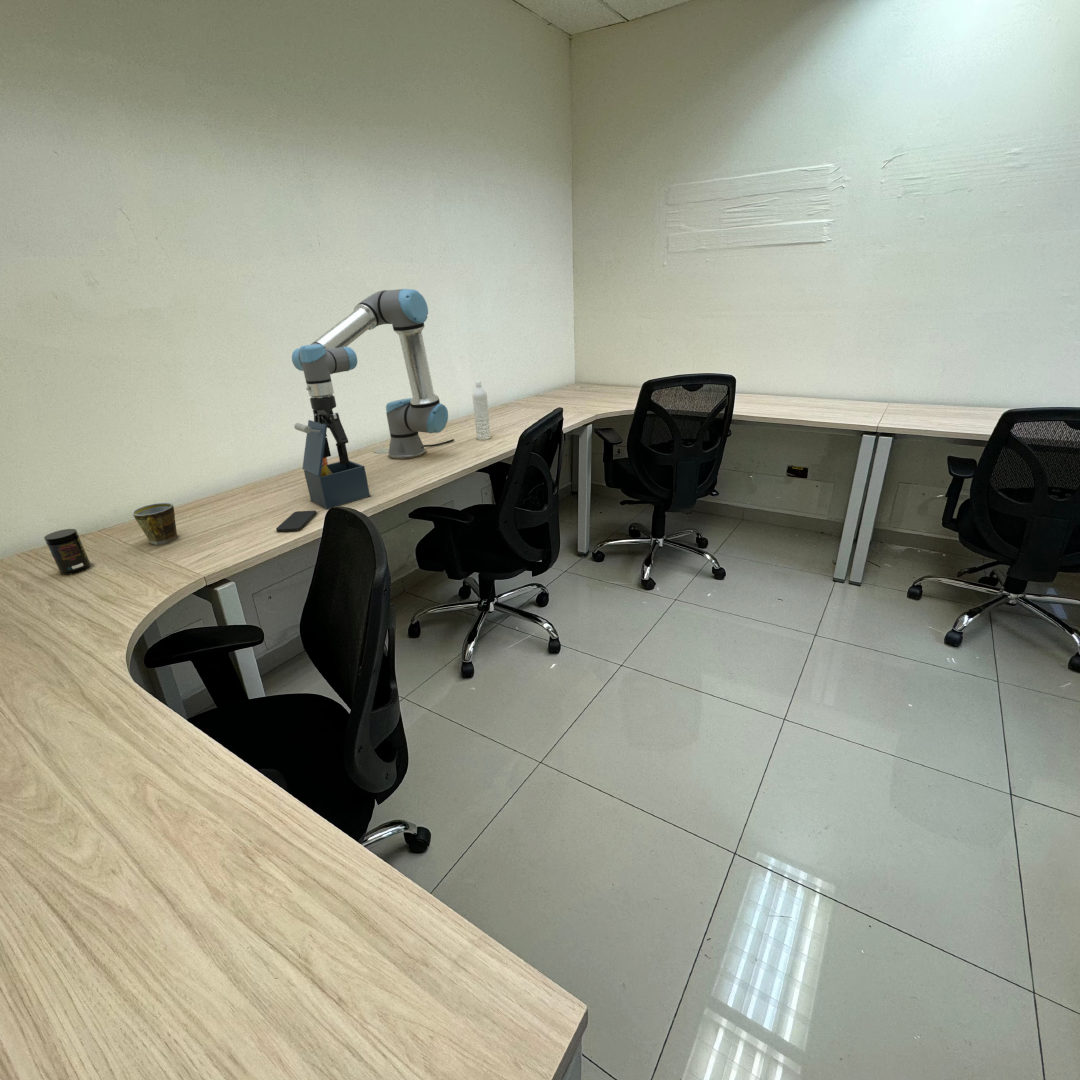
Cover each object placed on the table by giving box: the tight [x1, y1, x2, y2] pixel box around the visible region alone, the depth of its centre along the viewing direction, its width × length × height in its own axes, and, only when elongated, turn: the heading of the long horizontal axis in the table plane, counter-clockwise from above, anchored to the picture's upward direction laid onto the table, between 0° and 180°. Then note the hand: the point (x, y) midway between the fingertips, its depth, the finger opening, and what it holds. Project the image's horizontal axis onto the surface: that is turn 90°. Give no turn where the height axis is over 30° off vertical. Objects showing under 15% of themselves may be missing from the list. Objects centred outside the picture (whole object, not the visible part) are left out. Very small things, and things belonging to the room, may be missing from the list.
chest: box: [303, 460, 371, 510], centre depth 187 cm, size 16×13×11 cm
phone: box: [275, 510, 317, 532], centre depth 171 cm, size 7×1×15 cm
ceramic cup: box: [132, 502, 178, 546], centre depth 160 cm, size 13×10×10 cm
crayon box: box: [321, 465, 333, 477], centre depth 186 cm, size 7×3×12 cm, turn 17°
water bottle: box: [472, 381, 492, 441], centre depth 252 cm, size 9×6×25 cm
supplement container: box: [43, 528, 91, 575], centre depth 146 cm, size 7×7×10 cm
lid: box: [293, 419, 328, 476], centre depth 177 cm, size 16×13×6 cm
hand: (335, 460), depth 185 cm, fingers open, 13 cm apart
